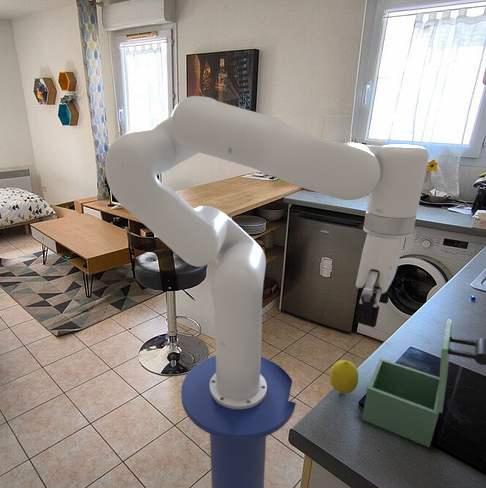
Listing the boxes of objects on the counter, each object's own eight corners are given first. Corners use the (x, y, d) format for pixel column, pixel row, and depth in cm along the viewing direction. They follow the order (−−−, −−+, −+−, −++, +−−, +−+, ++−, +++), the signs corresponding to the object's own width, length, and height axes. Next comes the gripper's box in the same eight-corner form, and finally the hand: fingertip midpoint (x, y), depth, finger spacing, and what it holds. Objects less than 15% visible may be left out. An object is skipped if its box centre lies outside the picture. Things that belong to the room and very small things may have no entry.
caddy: (361, 419, 70) (367, 388, 67) (374, 387, 78) (379, 357, 75) (429, 447, 64) (438, 414, 61) (435, 409, 72) (444, 378, 69)
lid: (441, 348, 57) (492, 358, 53) (447, 318, 65) (491, 325, 61) (436, 411, 61) (483, 424, 57) (442, 376, 69) (483, 385, 65)
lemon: (356, 404, 73) (361, 372, 70) (327, 398, 75) (331, 367, 72) (355, 386, 78) (360, 355, 75) (328, 380, 80) (332, 350, 77)
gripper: (377, 208, 69) (363, 288, 75) (350, 233, 56) (337, 327, 62) (421, 214, 65) (403, 298, 71) (404, 242, 52) (383, 342, 58)
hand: (372, 312), depth 67 cm, fingers open, 9 cm apart
